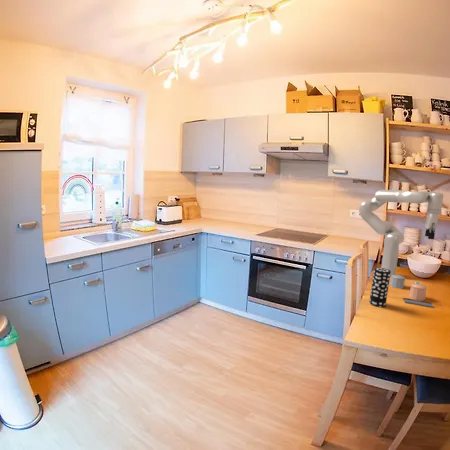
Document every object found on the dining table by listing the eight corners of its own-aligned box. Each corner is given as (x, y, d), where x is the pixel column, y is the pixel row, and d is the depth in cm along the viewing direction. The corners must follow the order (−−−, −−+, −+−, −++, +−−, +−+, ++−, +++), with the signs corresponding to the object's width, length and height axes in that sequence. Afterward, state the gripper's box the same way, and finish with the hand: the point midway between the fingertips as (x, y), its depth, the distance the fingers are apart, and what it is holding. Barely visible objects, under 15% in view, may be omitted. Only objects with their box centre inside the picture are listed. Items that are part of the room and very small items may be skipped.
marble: (415, 283, 211) (414, 280, 214) (414, 287, 212) (413, 284, 215) (420, 283, 211) (419, 281, 213) (419, 287, 212) (418, 285, 214)
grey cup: (390, 289, 205) (392, 277, 204) (389, 285, 212) (390, 273, 211) (403, 291, 202) (405, 279, 201) (402, 287, 209) (404, 275, 208)
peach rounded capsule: (410, 299, 187) (412, 286, 186) (408, 295, 194) (410, 282, 193) (425, 302, 185) (427, 289, 183) (423, 297, 191) (425, 285, 190)
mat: (405, 302, 185) (405, 301, 184) (401, 293, 199) (401, 292, 199) (433, 307, 180) (433, 306, 179) (427, 297, 194) (427, 296, 194)
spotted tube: (382, 301, 184) (387, 268, 181) (388, 307, 176) (393, 272, 173) (367, 300, 185) (371, 266, 182) (372, 306, 177) (377, 271, 174)
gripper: (424, 209, 218) (420, 234, 221) (429, 212, 202) (425, 239, 205) (437, 210, 215) (433, 236, 219) (443, 214, 200) (439, 240, 203)
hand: (429, 237), depth 212 cm, fingers open, 9 cm apart
